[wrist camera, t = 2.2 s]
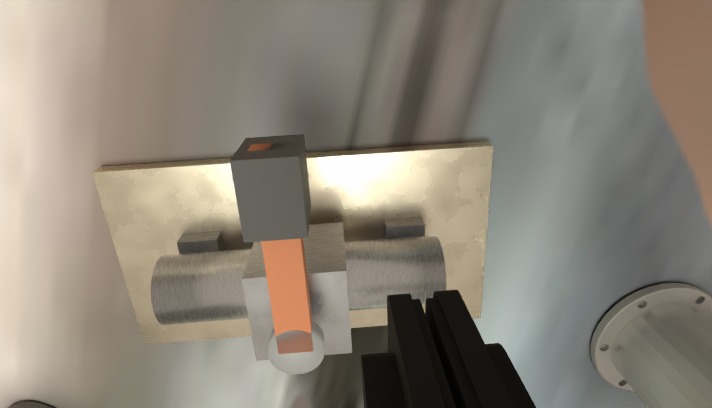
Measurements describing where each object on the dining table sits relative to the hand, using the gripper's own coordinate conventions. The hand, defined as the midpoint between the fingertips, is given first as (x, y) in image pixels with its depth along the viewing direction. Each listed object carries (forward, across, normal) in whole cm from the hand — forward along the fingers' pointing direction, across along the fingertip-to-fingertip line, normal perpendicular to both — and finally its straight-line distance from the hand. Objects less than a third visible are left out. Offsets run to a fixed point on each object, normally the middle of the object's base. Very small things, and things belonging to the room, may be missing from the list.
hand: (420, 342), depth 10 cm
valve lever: (+14, +5, +5) cm, 16 cm away
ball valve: (+25, +5, +10) cm, 27 cm away
